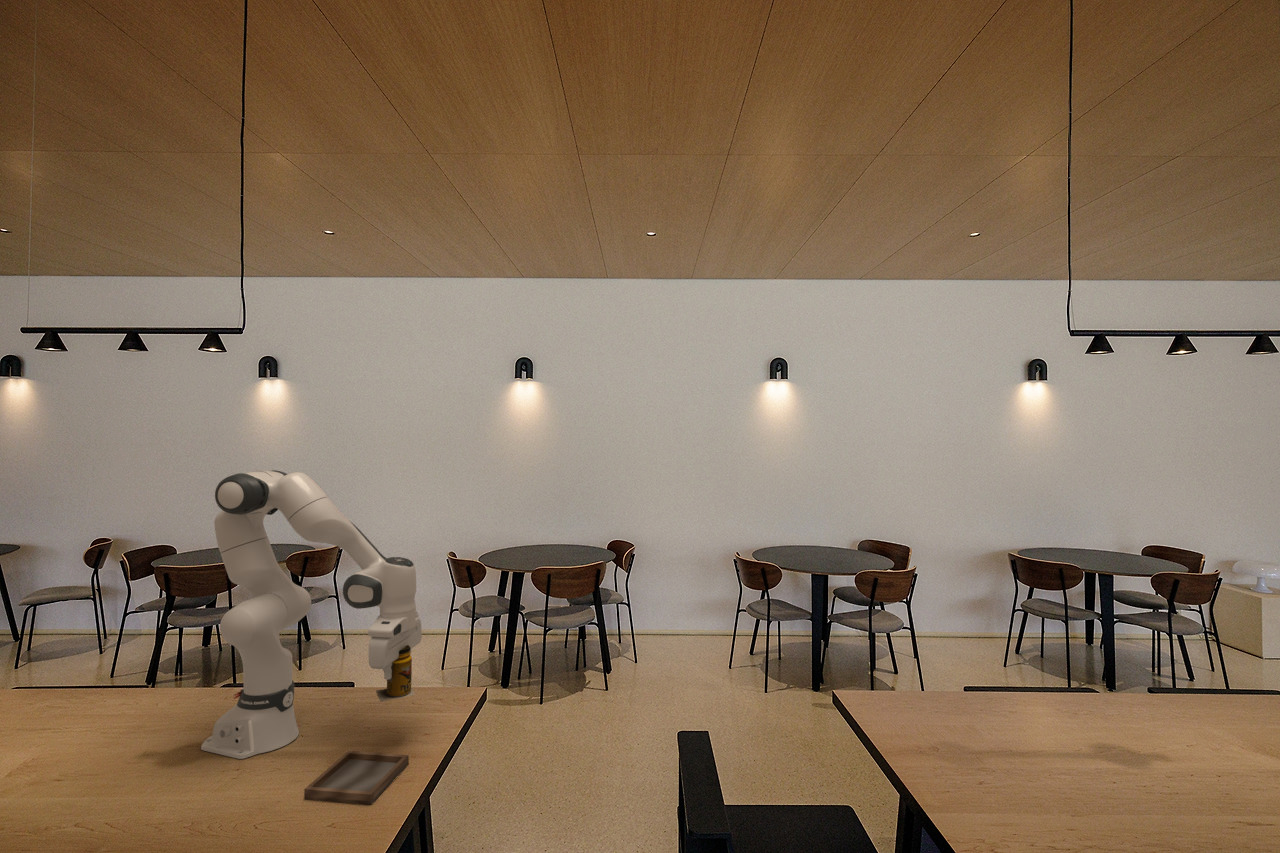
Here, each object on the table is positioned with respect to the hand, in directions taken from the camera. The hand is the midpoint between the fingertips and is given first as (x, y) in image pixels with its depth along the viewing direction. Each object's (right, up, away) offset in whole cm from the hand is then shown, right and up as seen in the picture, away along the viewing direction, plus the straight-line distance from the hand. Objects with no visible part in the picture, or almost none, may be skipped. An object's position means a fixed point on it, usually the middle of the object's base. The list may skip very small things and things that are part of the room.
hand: (396, 672), depth 156 cm
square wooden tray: (-2, -19, -17) cm, 25 cm away
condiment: (0, -6, 0) cm, 6 cm away
